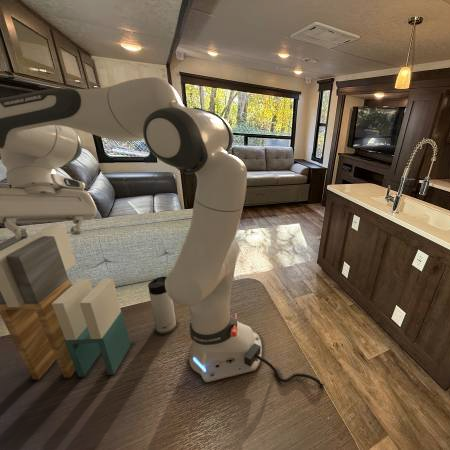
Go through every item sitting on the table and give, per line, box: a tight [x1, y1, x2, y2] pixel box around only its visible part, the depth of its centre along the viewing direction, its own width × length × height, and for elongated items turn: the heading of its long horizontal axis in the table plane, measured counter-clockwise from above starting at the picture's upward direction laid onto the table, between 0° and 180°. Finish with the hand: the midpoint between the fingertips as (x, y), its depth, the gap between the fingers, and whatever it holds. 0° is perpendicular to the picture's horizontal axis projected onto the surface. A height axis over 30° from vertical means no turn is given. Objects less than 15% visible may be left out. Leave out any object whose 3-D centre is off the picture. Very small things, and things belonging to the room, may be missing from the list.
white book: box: [0, 222, 77, 307], centre depth 63 cm, size 2×19×13 cm, turn 8°
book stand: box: [0, 235, 76, 380], centre depth 65 cm, size 9×10×39 cm
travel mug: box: [147, 276, 177, 335], centre depth 83 cm, size 6×7×20 cm
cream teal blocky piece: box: [52, 277, 132, 377], centre depth 69 cm, size 9×10×26 cm
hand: (51, 235), depth 58 cm, fingers open, 8 cm apart
